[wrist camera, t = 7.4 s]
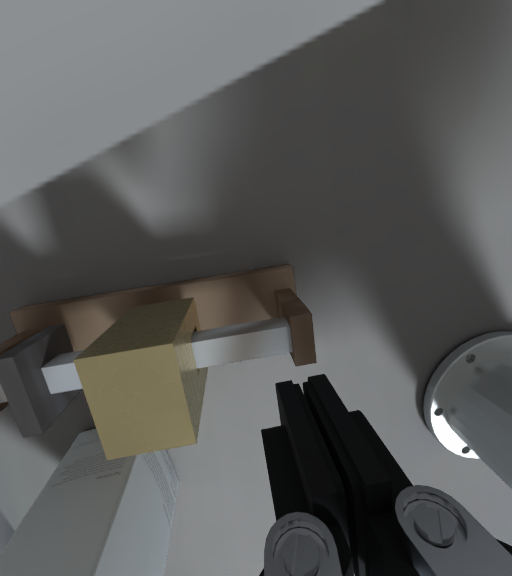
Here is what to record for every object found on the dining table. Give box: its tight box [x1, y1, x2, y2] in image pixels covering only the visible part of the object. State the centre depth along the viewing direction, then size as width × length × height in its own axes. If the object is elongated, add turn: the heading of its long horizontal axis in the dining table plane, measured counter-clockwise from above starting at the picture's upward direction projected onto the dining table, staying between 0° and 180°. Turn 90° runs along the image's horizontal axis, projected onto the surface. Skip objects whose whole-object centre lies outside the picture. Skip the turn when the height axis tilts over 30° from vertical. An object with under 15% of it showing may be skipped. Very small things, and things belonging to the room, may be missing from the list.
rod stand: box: [0, 264, 317, 437], centre depth 18 cm, size 20×6×8 cm, turn 98°
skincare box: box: [0, 428, 179, 576], centre depth 17 cm, size 8×7×16 cm
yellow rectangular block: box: [73, 297, 208, 460], centre depth 16 cm, size 4×5×7 cm
